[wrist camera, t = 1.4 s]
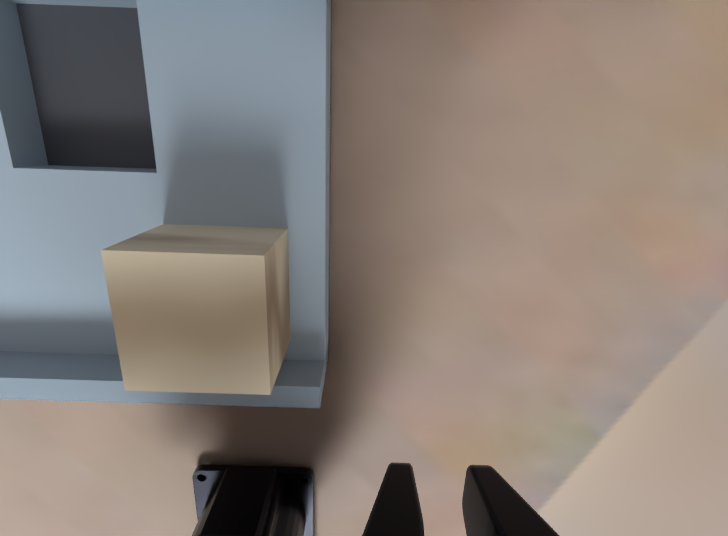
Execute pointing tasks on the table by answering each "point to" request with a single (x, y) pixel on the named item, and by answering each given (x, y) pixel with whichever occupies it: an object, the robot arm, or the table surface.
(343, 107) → the table surface
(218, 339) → the beech block
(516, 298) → the table surface
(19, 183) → the box
